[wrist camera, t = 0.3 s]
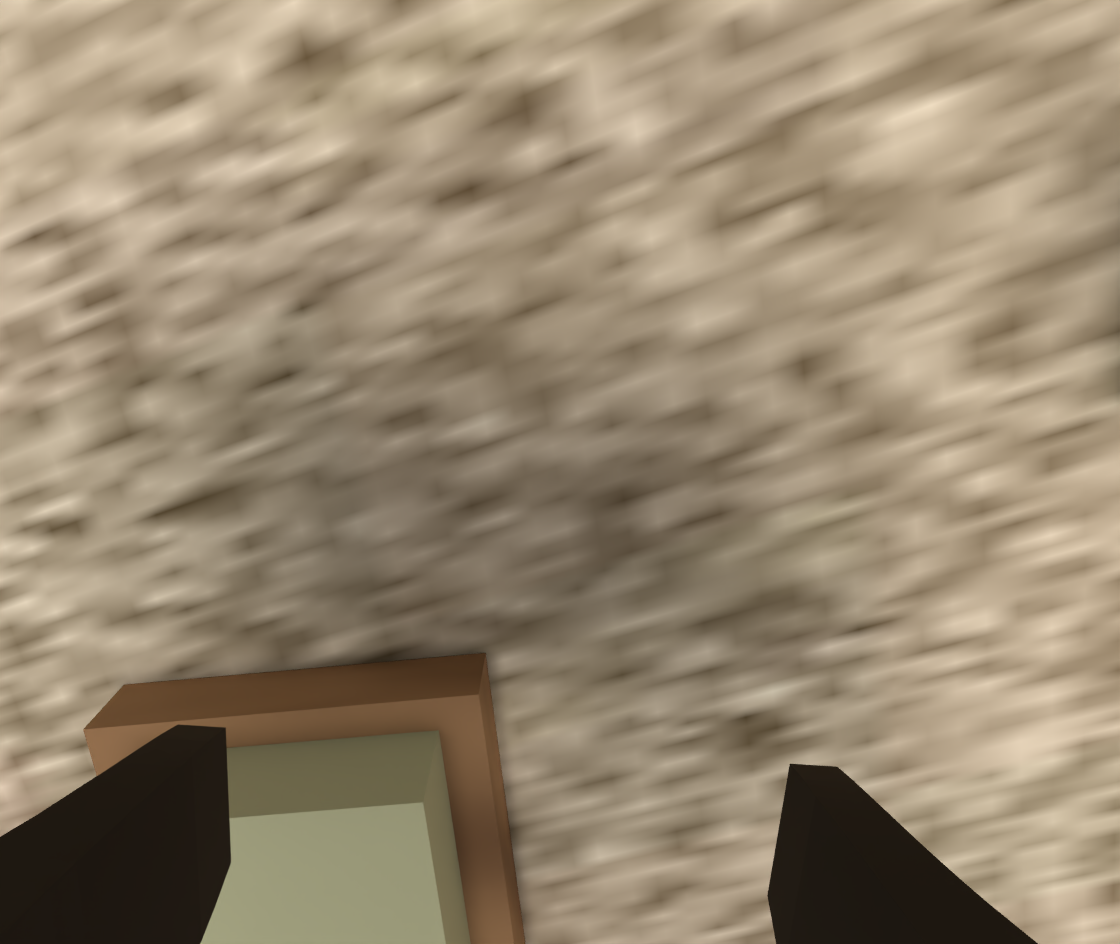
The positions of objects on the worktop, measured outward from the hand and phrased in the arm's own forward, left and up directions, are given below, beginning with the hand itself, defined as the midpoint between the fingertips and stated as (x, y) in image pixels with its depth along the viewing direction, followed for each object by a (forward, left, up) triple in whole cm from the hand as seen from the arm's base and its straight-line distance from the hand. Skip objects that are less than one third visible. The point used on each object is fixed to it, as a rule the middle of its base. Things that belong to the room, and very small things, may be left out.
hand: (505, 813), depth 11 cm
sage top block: (-7, +6, -8) cm, 12 cm away
